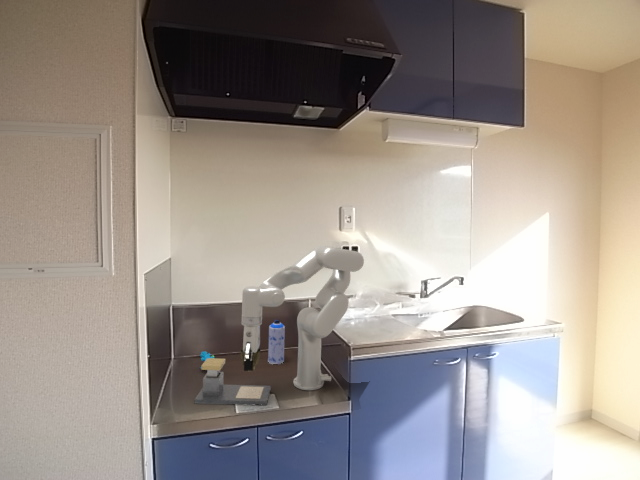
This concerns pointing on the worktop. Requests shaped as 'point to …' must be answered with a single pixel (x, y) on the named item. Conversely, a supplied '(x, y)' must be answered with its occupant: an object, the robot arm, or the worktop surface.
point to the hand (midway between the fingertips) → (250, 366)
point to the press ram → (213, 367)
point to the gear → (205, 356)
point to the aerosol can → (276, 343)
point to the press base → (231, 393)
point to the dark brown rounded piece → (255, 358)
